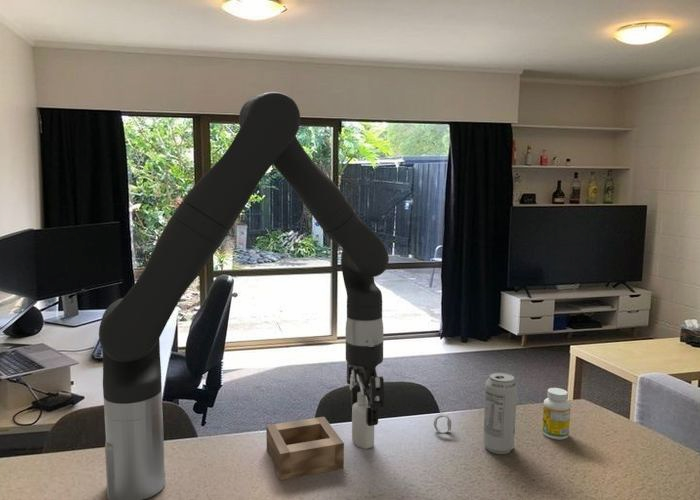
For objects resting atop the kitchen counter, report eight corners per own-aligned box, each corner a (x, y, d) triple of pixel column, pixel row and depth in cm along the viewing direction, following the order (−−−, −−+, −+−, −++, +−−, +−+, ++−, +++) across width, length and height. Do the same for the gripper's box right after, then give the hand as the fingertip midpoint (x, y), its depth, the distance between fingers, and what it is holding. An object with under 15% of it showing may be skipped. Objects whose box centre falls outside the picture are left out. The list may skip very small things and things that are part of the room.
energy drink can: (520, 452, 110) (524, 379, 108) (494, 457, 108) (498, 383, 106) (501, 438, 116) (504, 369, 114) (476, 443, 114) (479, 373, 112)
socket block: (280, 480, 99) (280, 453, 99) (266, 449, 111) (266, 425, 110) (343, 468, 104) (343, 443, 103) (324, 439, 115) (324, 416, 114)
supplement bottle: (568, 442, 115) (571, 397, 113) (541, 437, 116) (544, 394, 115) (568, 431, 120) (571, 388, 118) (542, 427, 121) (544, 385, 120)
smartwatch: (433, 433, 118) (434, 416, 117) (432, 429, 120) (433, 411, 119) (450, 434, 118) (451, 416, 117) (449, 429, 120) (450, 412, 119)
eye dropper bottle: (372, 436, 116) (373, 381, 115) (374, 449, 111) (375, 392, 109) (351, 436, 116) (352, 381, 115) (352, 449, 111) (353, 392, 109)
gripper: (335, 330, 116) (335, 404, 118) (359, 351, 103) (359, 434, 105) (368, 327, 118) (368, 399, 121) (396, 346, 105) (395, 427, 107)
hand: (364, 415), depth 113 cm, fingers open, 8 cm apart
